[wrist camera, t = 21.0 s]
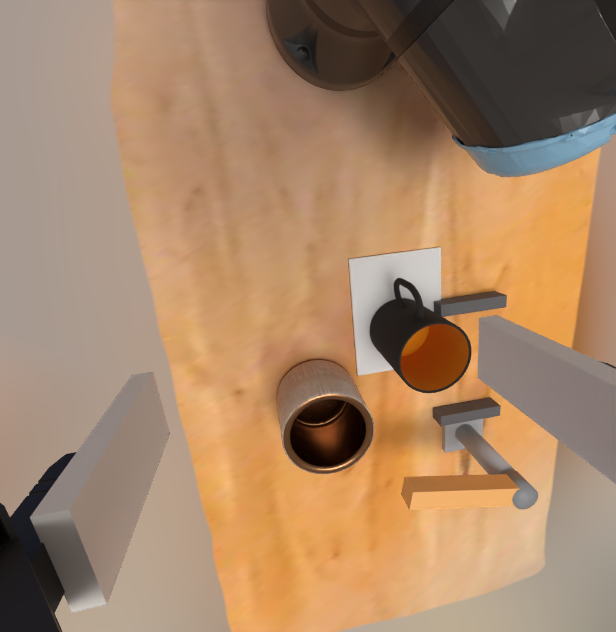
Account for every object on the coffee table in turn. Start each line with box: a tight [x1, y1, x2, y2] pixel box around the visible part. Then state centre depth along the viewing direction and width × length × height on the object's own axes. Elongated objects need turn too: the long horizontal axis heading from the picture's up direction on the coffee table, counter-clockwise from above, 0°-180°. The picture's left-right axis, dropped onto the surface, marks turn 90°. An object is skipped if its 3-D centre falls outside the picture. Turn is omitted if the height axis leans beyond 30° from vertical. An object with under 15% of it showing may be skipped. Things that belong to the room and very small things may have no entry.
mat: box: [348, 247, 441, 376], centre depth 49 cm, size 16×12×1 cm
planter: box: [277, 360, 374, 474], centre depth 46 cm, size 11×11×10 cm
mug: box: [370, 278, 471, 393], centre depth 44 cm, size 8×12×10 cm
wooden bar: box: [401, 470, 538, 510], centre depth 43 cm, size 16×3×3 cm, turn 85°
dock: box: [433, 291, 514, 475], centre depth 48 cm, size 24×9×11 cm, turn 6°
